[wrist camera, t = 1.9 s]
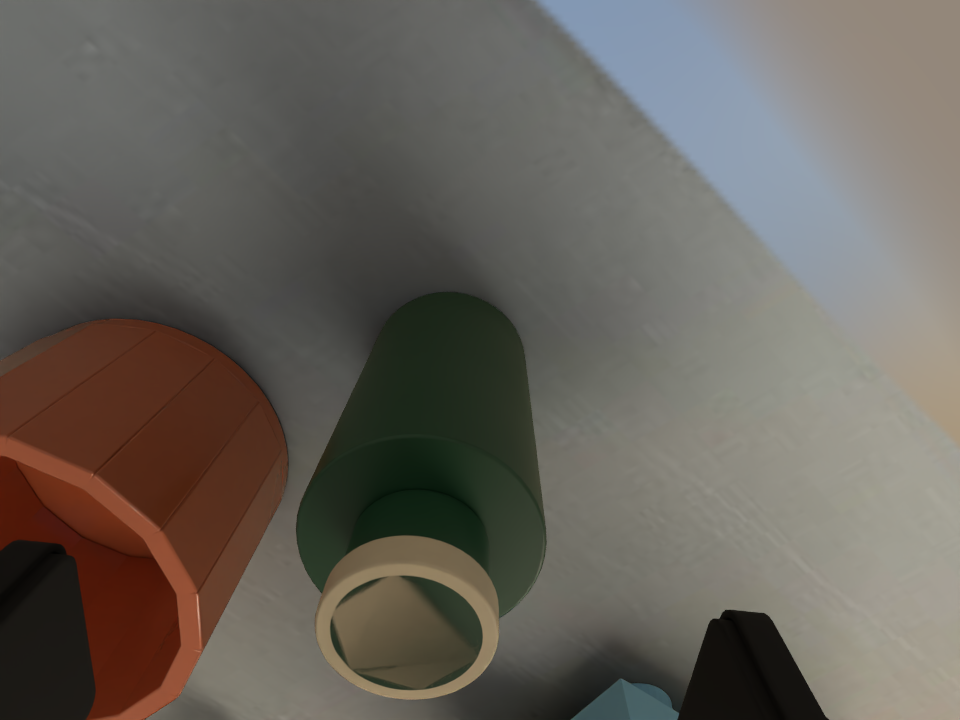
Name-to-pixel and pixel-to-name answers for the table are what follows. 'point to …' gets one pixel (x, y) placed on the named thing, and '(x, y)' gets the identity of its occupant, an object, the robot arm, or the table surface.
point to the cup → (139, 490)
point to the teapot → (629, 704)
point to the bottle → (426, 502)
